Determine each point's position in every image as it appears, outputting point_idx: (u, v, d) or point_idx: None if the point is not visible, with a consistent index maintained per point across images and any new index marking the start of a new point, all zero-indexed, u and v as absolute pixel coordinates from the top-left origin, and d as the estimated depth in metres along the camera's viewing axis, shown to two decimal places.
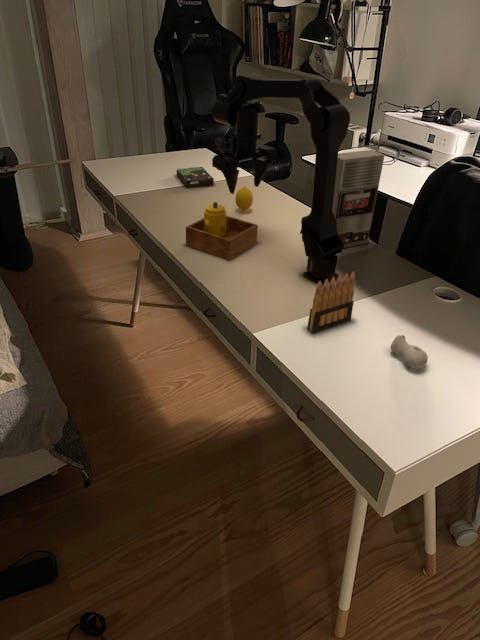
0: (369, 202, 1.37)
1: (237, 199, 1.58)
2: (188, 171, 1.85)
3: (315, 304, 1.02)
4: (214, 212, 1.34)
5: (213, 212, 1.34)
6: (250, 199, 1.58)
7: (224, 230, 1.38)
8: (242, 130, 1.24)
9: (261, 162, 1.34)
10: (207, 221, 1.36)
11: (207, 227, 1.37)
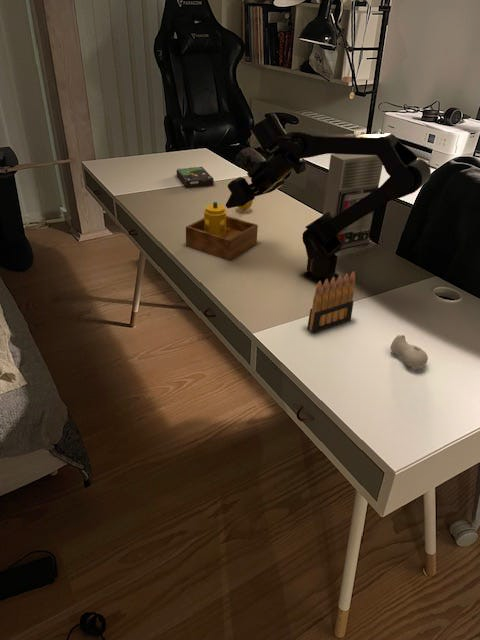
0: None
1: None
2: (188, 171, 1.85)
3: (315, 304, 1.02)
4: (214, 212, 1.34)
5: (213, 212, 1.34)
6: None
7: (224, 230, 1.38)
8: (274, 173, 1.18)
9: None
10: (207, 221, 1.36)
11: (207, 227, 1.37)
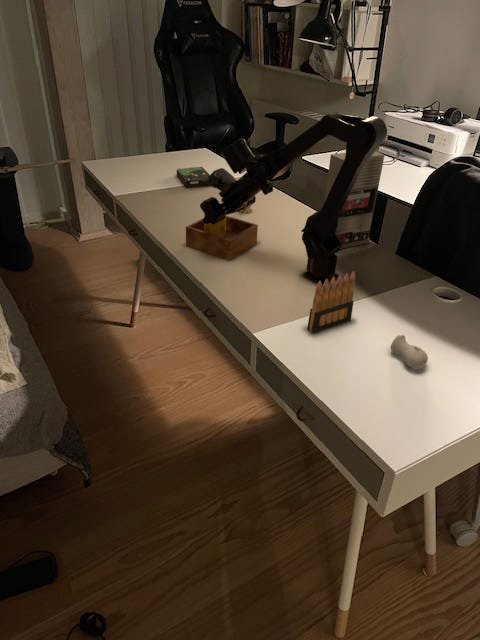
0: (369, 202, 1.37)
1: None
2: (188, 171, 1.85)
3: (315, 304, 1.02)
4: None
5: None
6: None
7: (224, 230, 1.38)
8: (243, 193, 1.26)
9: None
10: None
11: (207, 227, 1.37)
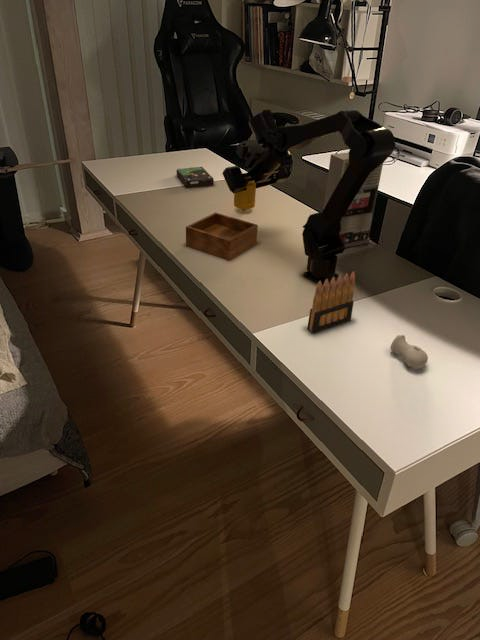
0: (369, 202, 1.37)
1: None
2: (188, 171, 1.85)
3: (315, 304, 1.02)
4: None
5: None
6: None
7: (252, 202, 1.40)
8: (263, 164, 1.27)
9: None
10: None
11: (235, 197, 1.40)
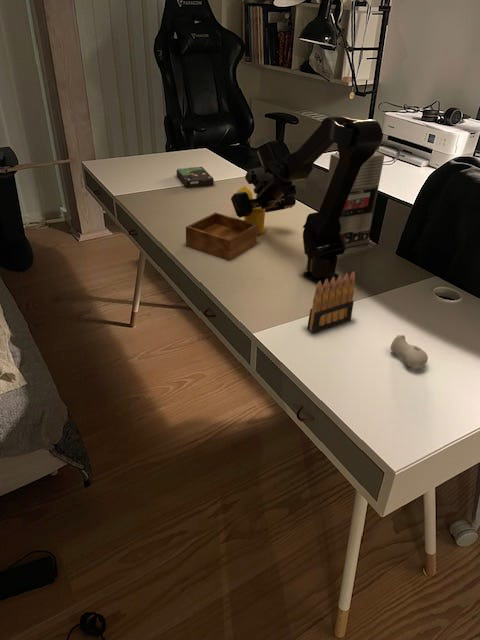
0: (369, 202, 1.37)
1: None
2: (188, 171, 1.85)
3: (315, 304, 1.02)
4: None
5: None
6: None
7: (260, 228, 1.47)
8: (269, 192, 1.32)
9: (277, 203, 1.44)
10: (244, 217, 1.46)
11: None
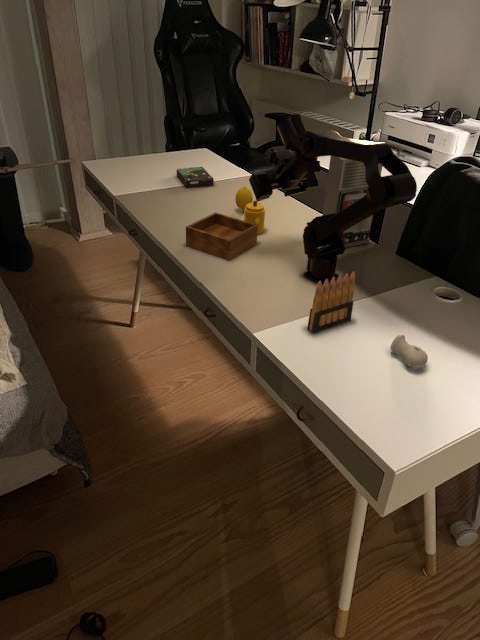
0: None
1: (237, 199, 1.58)
2: (188, 171, 1.85)
3: (315, 304, 1.02)
4: (250, 209, 1.43)
5: (250, 209, 1.44)
6: (250, 199, 1.58)
7: (260, 228, 1.47)
8: (291, 170, 1.22)
9: (298, 185, 1.33)
10: (244, 217, 1.46)
11: None
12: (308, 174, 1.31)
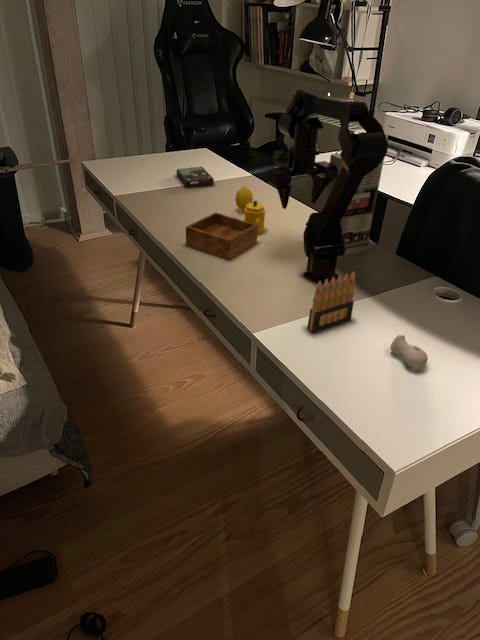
0: (369, 202, 1.37)
1: (237, 199, 1.58)
2: (188, 171, 1.85)
3: (315, 304, 1.02)
4: (250, 209, 1.43)
5: (250, 209, 1.44)
6: (250, 199, 1.58)
7: (260, 228, 1.47)
8: (297, 145, 1.21)
9: (319, 179, 1.29)
10: (244, 217, 1.46)
11: None
12: (323, 164, 1.29)
